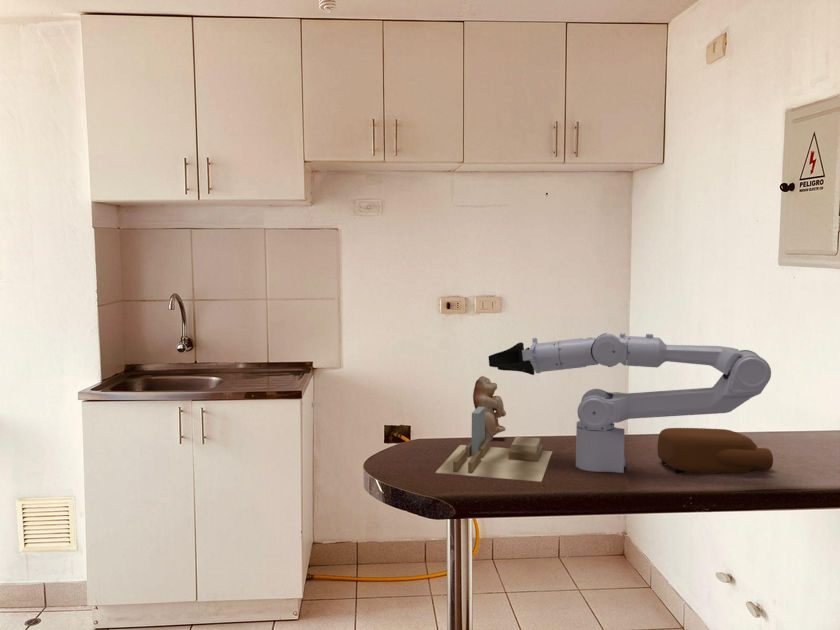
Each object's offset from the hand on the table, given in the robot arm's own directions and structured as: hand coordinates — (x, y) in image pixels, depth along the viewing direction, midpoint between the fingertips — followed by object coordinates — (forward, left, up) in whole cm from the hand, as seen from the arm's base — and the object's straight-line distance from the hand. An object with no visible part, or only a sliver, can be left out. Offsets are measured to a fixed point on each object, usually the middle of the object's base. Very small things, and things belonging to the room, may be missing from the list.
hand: (493, 363), depth 145 cm
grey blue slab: (+4, -3, -20) cm, 20 cm away
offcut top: (-6, -4, -18) cm, 19 cm away
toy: (-43, -9, -21) cm, 49 cm away
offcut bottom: (-6, -3, -20) cm, 21 cm away
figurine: (+4, -16, -21) cm, 27 cm away
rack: (-1, +3, -21) cm, 21 cm away
